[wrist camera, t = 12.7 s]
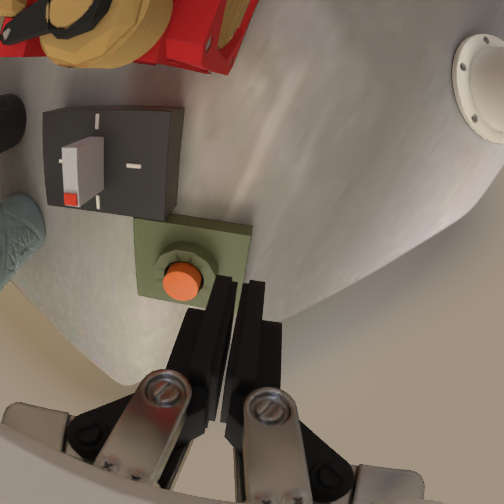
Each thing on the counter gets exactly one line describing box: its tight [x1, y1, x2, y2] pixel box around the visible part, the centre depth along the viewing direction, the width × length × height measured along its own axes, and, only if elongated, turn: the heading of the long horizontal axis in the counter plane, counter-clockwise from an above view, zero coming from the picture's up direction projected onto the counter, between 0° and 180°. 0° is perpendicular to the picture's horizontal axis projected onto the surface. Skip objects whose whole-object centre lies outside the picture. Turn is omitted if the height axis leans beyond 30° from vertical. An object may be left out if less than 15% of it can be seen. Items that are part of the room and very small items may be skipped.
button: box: [163, 262, 202, 301], centre depth 29 cm, size 4×4×2 cm
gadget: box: [43, 106, 184, 221], centre depth 26 cm, size 14×10×4 cm
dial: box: [62, 137, 104, 207], centre depth 22 cm, size 5×2×5 cm, turn 171°
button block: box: [133, 214, 252, 313], centre depth 32 cm, size 12×10×4 cm
